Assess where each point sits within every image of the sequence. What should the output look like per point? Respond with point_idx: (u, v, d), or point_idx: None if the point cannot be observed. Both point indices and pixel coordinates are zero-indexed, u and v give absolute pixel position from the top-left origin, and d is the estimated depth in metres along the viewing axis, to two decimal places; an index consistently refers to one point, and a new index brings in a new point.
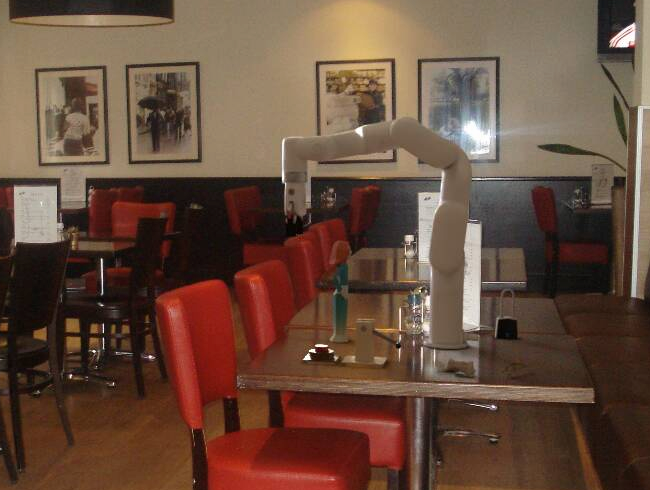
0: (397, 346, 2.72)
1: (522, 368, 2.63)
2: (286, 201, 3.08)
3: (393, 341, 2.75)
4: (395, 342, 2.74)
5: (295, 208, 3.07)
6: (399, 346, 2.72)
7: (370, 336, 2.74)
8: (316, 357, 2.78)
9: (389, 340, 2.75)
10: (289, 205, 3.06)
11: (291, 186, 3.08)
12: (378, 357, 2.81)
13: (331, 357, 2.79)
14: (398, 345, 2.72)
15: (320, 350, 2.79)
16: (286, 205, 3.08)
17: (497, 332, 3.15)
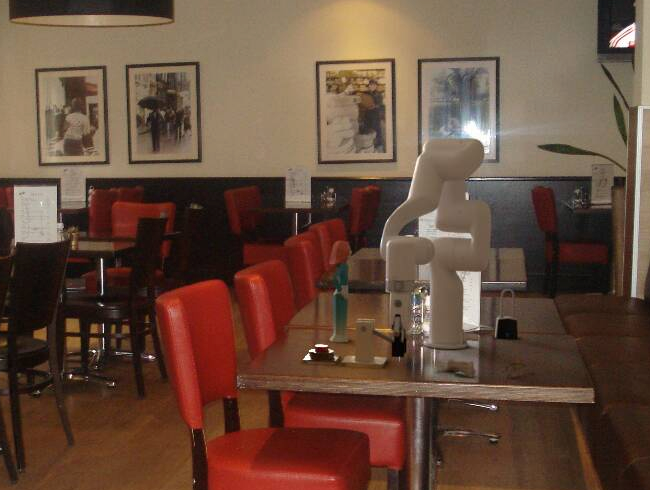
0: None
1: (522, 368, 2.63)
2: (392, 314, 2.70)
3: None
4: None
5: (402, 322, 2.69)
6: None
7: (370, 336, 2.74)
8: (316, 357, 2.78)
9: (389, 340, 2.75)
10: (396, 323, 2.68)
11: (398, 297, 2.69)
12: (378, 357, 2.81)
13: (331, 357, 2.79)
14: None
15: (320, 350, 2.79)
16: (392, 318, 2.70)
17: (497, 332, 3.15)
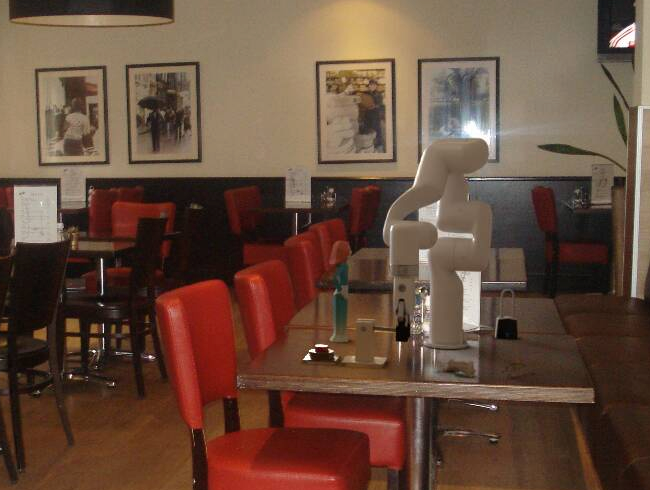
0: None
1: (522, 368, 2.63)
2: (396, 298, 2.69)
3: None
4: None
5: (406, 307, 2.68)
6: None
7: (370, 336, 2.74)
8: (316, 357, 2.78)
9: (392, 330, 2.74)
10: (400, 308, 2.68)
11: (401, 281, 2.68)
12: (378, 357, 2.81)
13: (331, 357, 2.79)
14: None
15: (320, 350, 2.79)
16: (396, 303, 2.69)
17: (497, 332, 3.15)
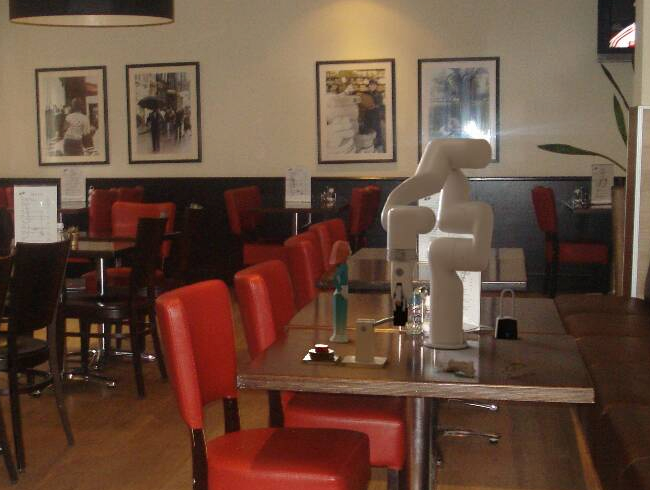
0: None
1: (522, 368, 2.63)
2: (393, 282, 2.69)
3: None
4: None
5: (404, 291, 2.68)
6: None
7: (370, 336, 2.74)
8: (316, 357, 2.78)
9: (391, 319, 2.74)
10: (398, 292, 2.68)
11: (399, 265, 2.68)
12: (378, 357, 2.81)
13: (331, 357, 2.79)
14: None
15: (320, 350, 2.79)
16: (393, 287, 2.69)
17: (497, 332, 3.15)
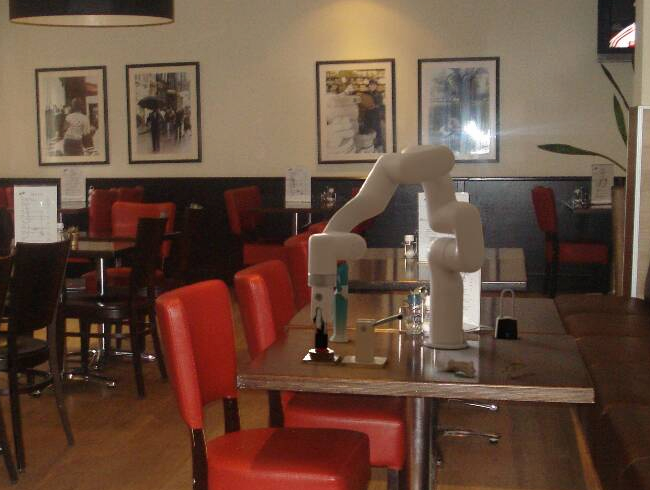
0: (399, 318, 2.72)
1: (522, 368, 2.63)
2: (313, 307, 2.75)
3: (394, 317, 2.74)
4: (396, 316, 2.74)
5: (323, 315, 2.74)
6: (401, 316, 2.71)
7: (370, 336, 2.74)
8: (316, 357, 2.78)
9: (391, 319, 2.74)
10: (317, 319, 2.75)
11: (318, 290, 2.75)
12: (378, 357, 2.81)
13: (331, 357, 2.79)
14: (399, 316, 2.72)
15: None
16: (313, 312, 2.75)
17: (497, 332, 3.15)
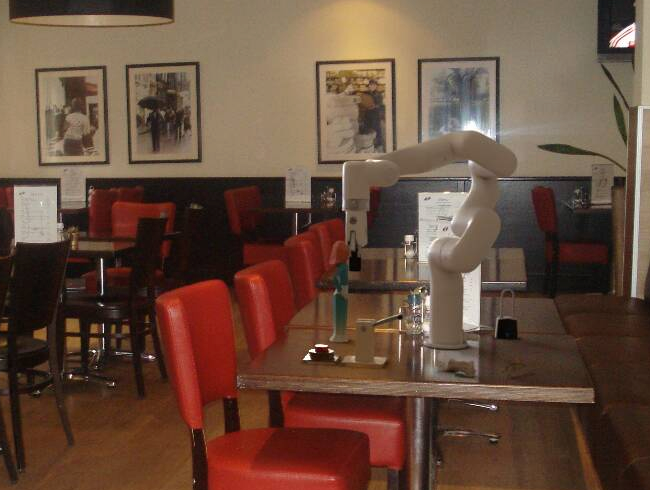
0: (399, 318, 2.72)
1: (522, 368, 2.63)
2: (347, 230, 2.86)
3: (394, 317, 2.74)
4: (396, 316, 2.74)
5: (357, 238, 2.85)
6: (401, 316, 2.71)
7: (370, 336, 2.74)
8: (316, 357, 2.78)
9: (391, 319, 2.74)
10: (352, 242, 2.86)
11: (353, 214, 2.85)
12: (378, 357, 2.81)
13: (331, 357, 2.79)
14: (399, 316, 2.72)
15: (320, 350, 2.79)
16: (347, 235, 2.86)
17: (497, 332, 3.15)
